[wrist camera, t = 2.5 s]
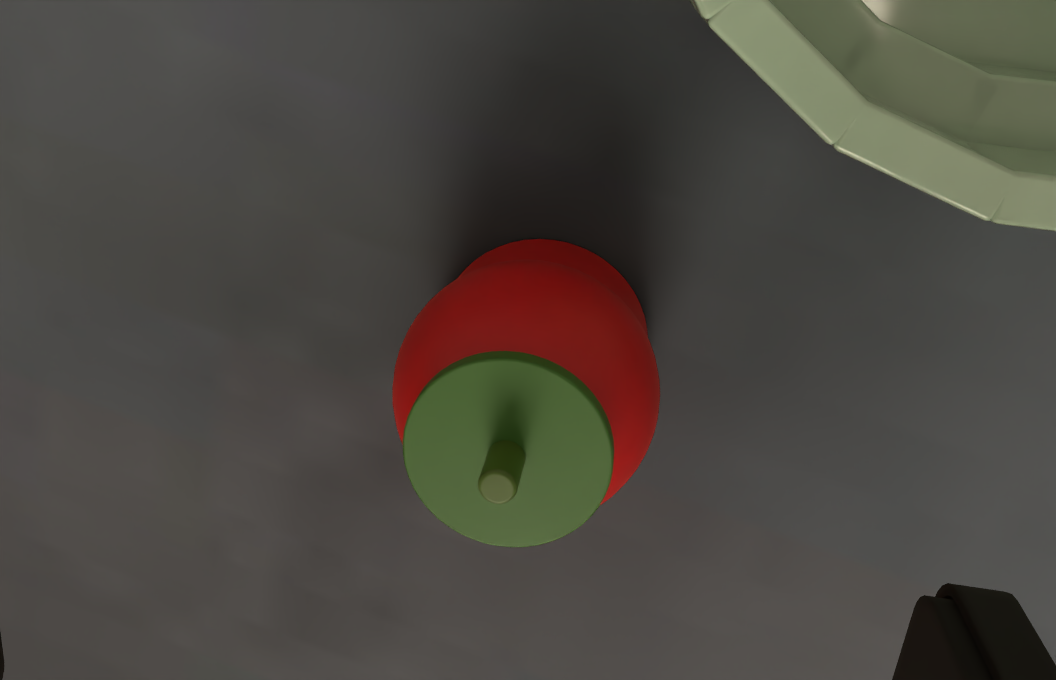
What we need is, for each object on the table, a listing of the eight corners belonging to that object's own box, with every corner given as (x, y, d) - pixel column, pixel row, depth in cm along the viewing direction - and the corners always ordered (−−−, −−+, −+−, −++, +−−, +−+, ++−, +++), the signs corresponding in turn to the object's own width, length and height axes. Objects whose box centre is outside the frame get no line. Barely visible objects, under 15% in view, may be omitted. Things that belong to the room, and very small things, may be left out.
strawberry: (676, 243, 16) (685, 363, 11) (641, 458, 17) (635, 644, 12) (435, 211, 16) (343, 315, 11) (421, 425, 17) (335, 595, 13)
